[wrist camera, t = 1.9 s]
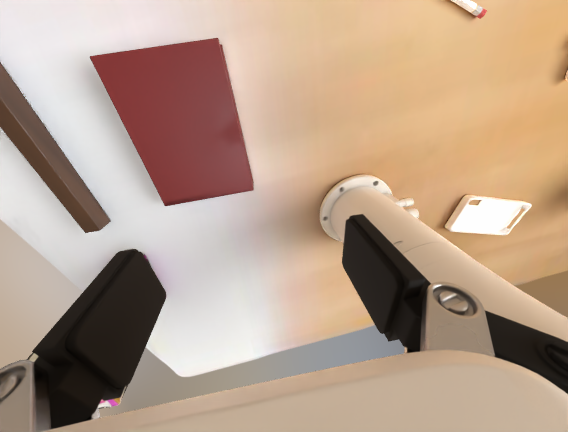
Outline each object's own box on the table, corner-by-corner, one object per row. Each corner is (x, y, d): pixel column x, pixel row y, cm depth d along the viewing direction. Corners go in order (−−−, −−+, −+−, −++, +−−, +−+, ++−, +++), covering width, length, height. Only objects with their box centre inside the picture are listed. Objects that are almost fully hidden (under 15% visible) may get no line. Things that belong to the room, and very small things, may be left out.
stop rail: (-7, 51, 20) (-39, 45, 17) (111, 221, 30) (100, 230, 28) (-29, 54, 20) (-64, 48, 17) (97, 223, 30) (85, 233, 28)
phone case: (442, 227, 40) (500, 231, 43) (448, 231, 39) (507, 235, 42) (464, 194, 36) (525, 201, 39) (471, 197, 35) (533, 204, 38)
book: (221, 45, 22) (217, 37, 19) (253, 182, 30) (253, 190, 27) (108, 61, 21) (89, 56, 19) (172, 197, 29) (165, 206, 27)
